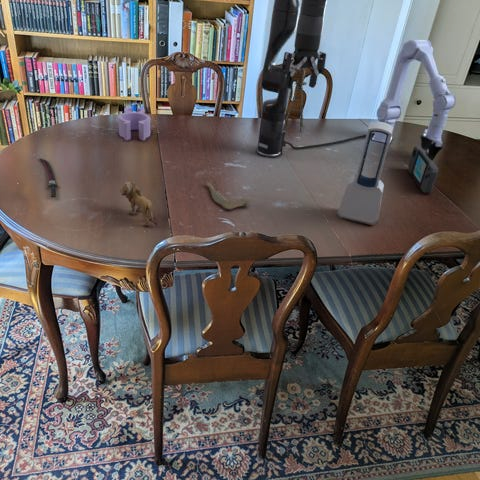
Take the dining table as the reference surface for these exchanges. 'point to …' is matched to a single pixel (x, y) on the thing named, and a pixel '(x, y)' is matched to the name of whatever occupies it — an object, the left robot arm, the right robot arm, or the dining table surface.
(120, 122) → the clip
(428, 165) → the handheld gaming console
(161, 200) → the dining table surface
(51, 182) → the sword
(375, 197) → the electronic device
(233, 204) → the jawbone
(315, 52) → the left robot arm
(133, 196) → the lion figurine
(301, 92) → the dark upright piece
